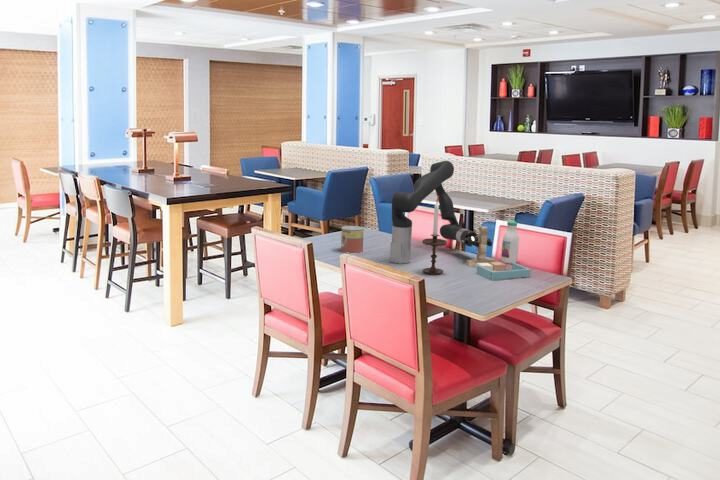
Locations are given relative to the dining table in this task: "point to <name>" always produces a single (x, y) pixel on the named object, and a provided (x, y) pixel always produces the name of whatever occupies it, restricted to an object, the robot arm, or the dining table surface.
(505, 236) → the milk bottle
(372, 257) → the dining table surface
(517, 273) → the box
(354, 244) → the canned food
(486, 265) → the tile cream
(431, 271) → the candlestick
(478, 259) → the wooden tower
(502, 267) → the tile terracotta
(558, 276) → the dining table surface
